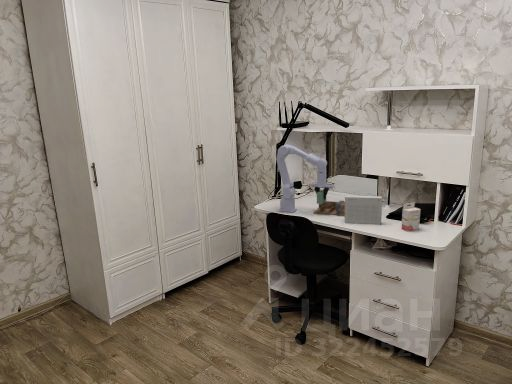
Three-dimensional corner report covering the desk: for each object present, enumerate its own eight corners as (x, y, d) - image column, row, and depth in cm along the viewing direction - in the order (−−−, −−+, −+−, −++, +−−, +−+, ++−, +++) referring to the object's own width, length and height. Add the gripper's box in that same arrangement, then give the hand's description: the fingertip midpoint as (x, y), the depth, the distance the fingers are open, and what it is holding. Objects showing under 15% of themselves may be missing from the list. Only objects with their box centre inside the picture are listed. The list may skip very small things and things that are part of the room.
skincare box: (381, 222, 238) (382, 196, 235) (381, 224, 233) (382, 198, 230) (344, 220, 244) (345, 194, 240) (344, 222, 239) (344, 197, 235)
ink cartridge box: (407, 231, 220) (409, 205, 217) (401, 228, 225) (402, 203, 221) (419, 229, 223) (421, 203, 220) (413, 226, 228) (414, 201, 225)
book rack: (313, 213, 260) (313, 202, 258) (319, 208, 270) (319, 198, 268) (344, 216, 251) (344, 204, 249) (348, 211, 261) (348, 200, 259)
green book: (316, 203, 255) (316, 192, 253) (321, 200, 263) (321, 189, 261) (322, 204, 253) (322, 193, 252) (326, 200, 261) (326, 190, 259)
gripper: (308, 178, 254) (308, 199, 257) (331, 180, 248) (330, 201, 251) (312, 176, 260) (312, 196, 263) (334, 177, 254) (334, 198, 257)
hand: (321, 198), depth 258 cm, fingers closed on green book, 3 cm apart
